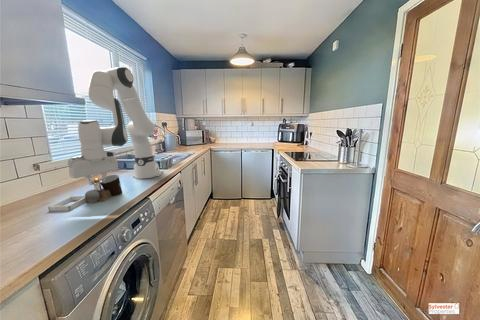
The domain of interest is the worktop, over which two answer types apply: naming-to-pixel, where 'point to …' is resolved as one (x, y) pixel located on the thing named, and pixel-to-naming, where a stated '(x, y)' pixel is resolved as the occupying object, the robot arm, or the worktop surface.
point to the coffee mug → (112, 185)
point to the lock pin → (97, 184)
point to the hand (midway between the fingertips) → (97, 183)
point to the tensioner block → (97, 195)
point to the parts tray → (59, 206)
